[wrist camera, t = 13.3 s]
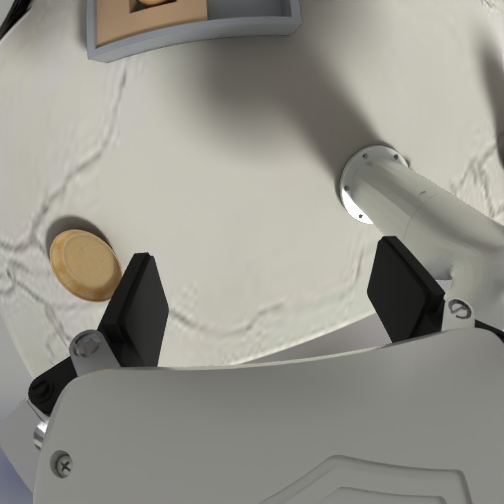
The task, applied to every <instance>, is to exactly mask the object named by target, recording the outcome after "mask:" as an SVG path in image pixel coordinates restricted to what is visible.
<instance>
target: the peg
mask: <svg viewBox="0 0 504 504" xmlns="http://www.w3.org/2000/svg"><path fill="white" fill-rule="evenodd" d="M139 1H140V2H141V3H142V4H143V5H144V6H145V7H146V8H147V9H148V8H152V7H156V6H160V5H164V4H169V3H173V2H174V0H139Z"/></svg>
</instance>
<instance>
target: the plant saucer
mask: <svg viewBox="0 0 504 504" xmlns="http://www.w3.org/2000/svg"><path fill="white" fill-rule="evenodd" d="M50 263H51V267H52V269H53V272H54V274H55V276H56V277H57V279H58V280H59V282H60V283H61V284H62V285H63V287H64V288H65V289H67V290H68V291H69V292H70V293H72V294H73V295H75V296H76V297H78V298H80V299H82V300H85V301H89V302H95V303H101V302H106V301H109V300H111V298H112V295H113V293H114V291H115V289H116V288H117V286H118V285H119V282H120V280H121V278H122V276H123V271H122V267H121V264H120V262H119V260H118V258H117V256H116V254H115V253H114V251H113V250H112V249H111V247H110V246H109V245H108V244H107V243H106V242H105V241H103V240H102V239H101V238H99V237H98V236H96V235H94V234H92V233H90V232H87V231H83V230H77V229H72V230H67V231H64V232H62V233H60V234H59V235H57V236H56V237H55V239H54V240H53V242H52V244H51V247H50Z"/></svg>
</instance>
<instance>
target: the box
mask: <svg viewBox="0 0 504 504" xmlns="http://www.w3.org/2000/svg"><path fill="white" fill-rule="evenodd" d="M301 25H302V21H301V12H300V4H299V0H174V2H173V3H169V4H164V5H160V6H156V7H152V8H148V9H147V8H146V7H145V6H144V5H143V4H142V3H141V2H140V1H139V0H87V2H86V35H87V55H88V60H94V61H99V62H104V63H109V62H112V61H115V60H119V59H122V58H125V57H128V56H132V55H135V54H139V53H143V52H146V51H150V50H154V49H159V48H163V47H168V46H172V45H177V44H183V43H188V42H195V41H201V40H208V39H216V38H226V37H237V36H254V35H291V34H292V33H293V32H294V31H295V30H296V29H298V28H299V27H300V26H301Z"/></svg>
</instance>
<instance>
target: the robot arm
mask: <svg viewBox="0 0 504 504" xmlns="http://www.w3.org/2000/svg"><path fill="white" fill-rule="evenodd" d="M363 154H364V156H363ZM345 186H346V187H345ZM339 189H340V197H341V201H342V203H343V205H344V207H345V209H346V210H347V211H348V212H349V214H350V215H351V216H353V217H354V218H355V219H357V220H358V221H361V222H364V223H370V224H372V223H373V224H374V225H375V226H376V227H377V228H378V229H379V230H380V231H381V232H382V233H383V234H384V236H383V237H382V239H381V240H379V241H378V245H377V250H376V254H375V259H374V263H373V268H372V272H371V276H370V280H369V284H368V288H367V295H368V297H369V299H370V301H371V303H372V305H373V307H374V308H375V310H376V312H377V314H378V316H379V317H380V319H381V321H382V323H383V325H384V327H385V329H386V331H387V333H388V335H389V337H390V339H391V341H392V343H390V344H386V345H381V346H376V347H371V348H366V349H361V350H356V351H350V352H345V353H339V354H332V355H326V356H319V357H313V358H305V359H297V360H288V361H280V362H269V363H257V364H244V365H228V366H201V367H157V365H158V360H159V355H160V350H161V345H162V340H163V336H164V331H165V327H166V322H167V318H168V313H169V308H168V303H167V300H166V297H165V294H164V290H163V287H162V284H161V280H160V277H159V273H158V270H157V266H156V262H155V259H154V257H153V256H150V255H149V253H148V252H147V253H135V254H134V255H133V257H132V259H131V261H130V263H129V265H128V267H127V269H126V270H125V272H124V274H123V276H122V278H121V280H120V282H119V285H118V286H117V288H116V289H115V291H114V293H113V295H112V298H111V300H110V302H109V304H108V306H107V308H106V310H105V313H104V315H103V317H102V319H101V322H100V324H99V326H98V329H97V330H92V329H91V330H86V331H83V332H81V333H79V334H78V335H76V337H75V338H74V339H73V340H72V342H71V344H70V347H69V353H70V357H68V358H66V359H65V360H63V361H62V362H60V363H58V364H57V365H55V366H54V367H52V368H51V369H49V370H47V371H46V372H44V373H43V374H41V375H40V376H38V377H37V378H36V379H34V380H33V382H32V383H31V385H30V387H29V392H28V396H29V399H28V400H25V399H23V400H22V402H20V404H19V405H18V406H17V407H16V408H15V409H14V410H13V411H12V413H11V414H10V415H9V416H8V417H7V418H6V420H5V421H4V422H3V423H2V424H1V426H0V446H1V448H2V450H3V451H4V453H5V455H6V456H7V458H8V459H9V461H10V463H11V464H12V466H13V467H14V468H15V470H16V471H17V473H18V474H19V476H20V477H21V478H22V480H23V481H24V483H25V484H26V485H27V486H28V488H29V489H30V491H31V492H32V493H33V494H34V497H33V504H504V226H503V225H501V224H499V223H497V222H496V221H494V220H492V219H491V218H489V217H487V216H485V215H484V214H482V213H481V212H479V211H477V210H476V209H474V208H473V207H471V206H470V205H468V204H466V203H465V202H463V201H462V200H460V199H459V198H457V197H456V196H454V195H452V194H451V193H449V192H448V191H446V190H445V189H443V188H441V187H440V186H438V185H436V184H435V183H433V182H431V181H430V180H428V179H426V178H425V177H423V176H421V175H419V174H418V173H416V172H414V171H412V170H410V169H409V168H408V165H407V163H406V161H405V160H404V158H403V157H402V156H401V155H400V154H399V153H398V152H396V151H395V150H393V149H391V148H389V147H386V146H381V145H374V146H369V147H366V148H364V149H362V150H360V151H359V152H357V153H356V154H355V155H354V156H353V157H352V158H351V159H350V160H349V161H348V163H347V164H346V166H345V168H344V170H343V172H342V175H341V179H340V187H339ZM435 280H452V283H451V285H450V288H449V289H448V291H447V293H446V294H445V292H444V290H443V289H442V288H441V287H440V286H439V284H438V283H437V282H436V281H435ZM444 295H445V296H444Z"/></svg>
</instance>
